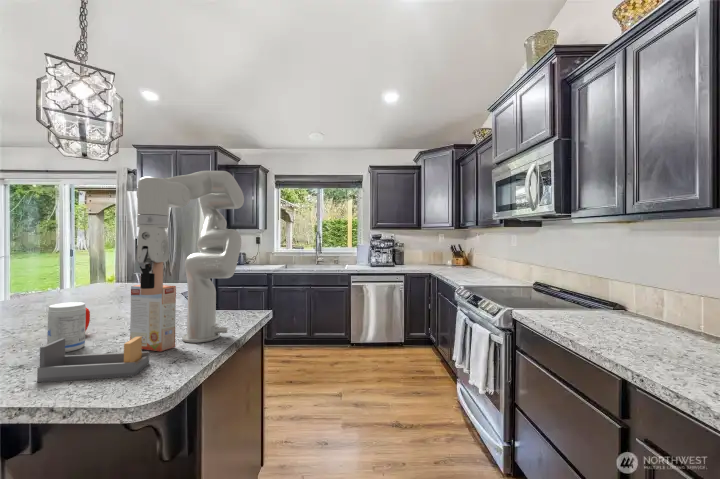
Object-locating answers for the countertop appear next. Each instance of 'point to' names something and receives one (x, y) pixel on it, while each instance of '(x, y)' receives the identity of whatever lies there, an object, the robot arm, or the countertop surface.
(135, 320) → the cracker box
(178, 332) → the countertop surface
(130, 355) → the lane pusher
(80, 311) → the supplement tub
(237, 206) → the robot arm
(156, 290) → the terracotta jar
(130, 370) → the pusher lane
